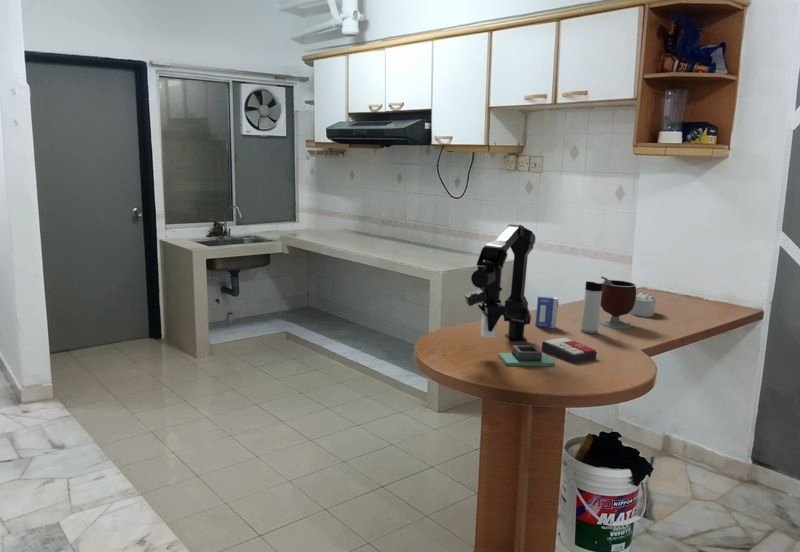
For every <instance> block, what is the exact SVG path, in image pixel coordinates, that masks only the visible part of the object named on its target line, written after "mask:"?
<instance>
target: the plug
mask: <svg viewBox="0 0 800 552" xmlns="http://www.w3.org/2000/svg"><path fill="white" fill-rule="evenodd" d="M480 322H481V323H480V335H481V336H482V337H483V338H496V333H497V328H498V322H497V323H496V325H495V327H494V328H493V330H492V331H491V332H489V331H488V323H487V315H486V314H485V313H481V321H480Z"/></svg>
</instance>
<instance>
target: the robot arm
mask: <svg viewBox="0 0 800 552" xmlns="http://www.w3.org/2000/svg"><path fill="white" fill-rule="evenodd" d="M535 243H536V235H535V234H534V232H533V231H532V230H530V229H528V228H527V227H524V225H522V224H519V223H517V224H516V223H509V224H508V225H507V227H506V229H505V230H504V231H503V232H502V233H501V234H500V235H499V236H498V238H497V239H495V240H493V241H489V242H487V243H486V244H484V246H483V247H482V249H481V251H480V254H479V257H478V259H477V262H476V266H477V269H476V270H475V271H473V272H472V275H471V277H470V279H471V283H472V285H473V286H474V287H475V288H478V289H476V290H472V291H469V292H466V293H464V294H463V295H464V299H465V302H466V304H467V305H468V307H471V306H474V305H476V304H477V307H478V308H479V309H480V310H481V312H482V313H481V314H483V313H485V314H486V315H487V323H488V331H489V332H491V331H492V330H493V328H494V327H495V325H496V323H497V324H498V321H499V320H500V318H501V317H502V316H503V321H504V322H508V328H507V329H508V332H507V333H506V334H504V337H506V338H507V339H508V340H509V341H527V340H528V339H527V338H526V337H525V329H526V328H525V326H527V325H531V321H532V316H531V313H530V310H529V308H528V307H529V303H528V300H527V298H526V296H525V287H526V278H527V269H528V268H527V267H528V258H529V257H528V256H529V254H530V253H531V251H533V249H534V245H535ZM509 249H511V251H512V254H513V264H512V265H513V267H512V274H511V275H512V276H511V277H512V278H511V289H510V295H509V296H508V298H507V299H506V300H505V301H504V305H503V304H502V300H501V297H500V296H501V292H502V291H503V287H501V285H502V284H501V283H502V272H503V268H504V264H505V263H506V260H507V258H508V250H509Z"/></svg>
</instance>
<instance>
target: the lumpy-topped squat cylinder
mask: <svg viewBox="0 0 800 552" xmlns="http://www.w3.org/2000/svg"><path fill="white" fill-rule="evenodd" d="M656 301H657V300H656V297H655V296H654V295H651V294H650V293H646V294H645V293H644V292H640V293H639V294H637V293H636V300H635V304H634V307H633V309H632V310H631V311H630V312H629V313H628V314H627V315H630V314H631V315H630V316H636V315H637V317H641V316H642V317H643V318H651V317H653V316H654V315H655V309H656V307H655V306H656Z"/></svg>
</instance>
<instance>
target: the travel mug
mask: <svg viewBox="0 0 800 552" xmlns="http://www.w3.org/2000/svg"><path fill="white" fill-rule="evenodd" d="M602 285H603V284H602V283H601V282H599V283H598V282H595V281H589V280H588V281H585V288H584V297H583V305H582V308H583V309H582V316H581V325H580V331H581V333H585V334H588V335H595V334H598V331H599V325H600V324H599V320H600V316H601V315H600V314H601V296H602Z"/></svg>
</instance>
